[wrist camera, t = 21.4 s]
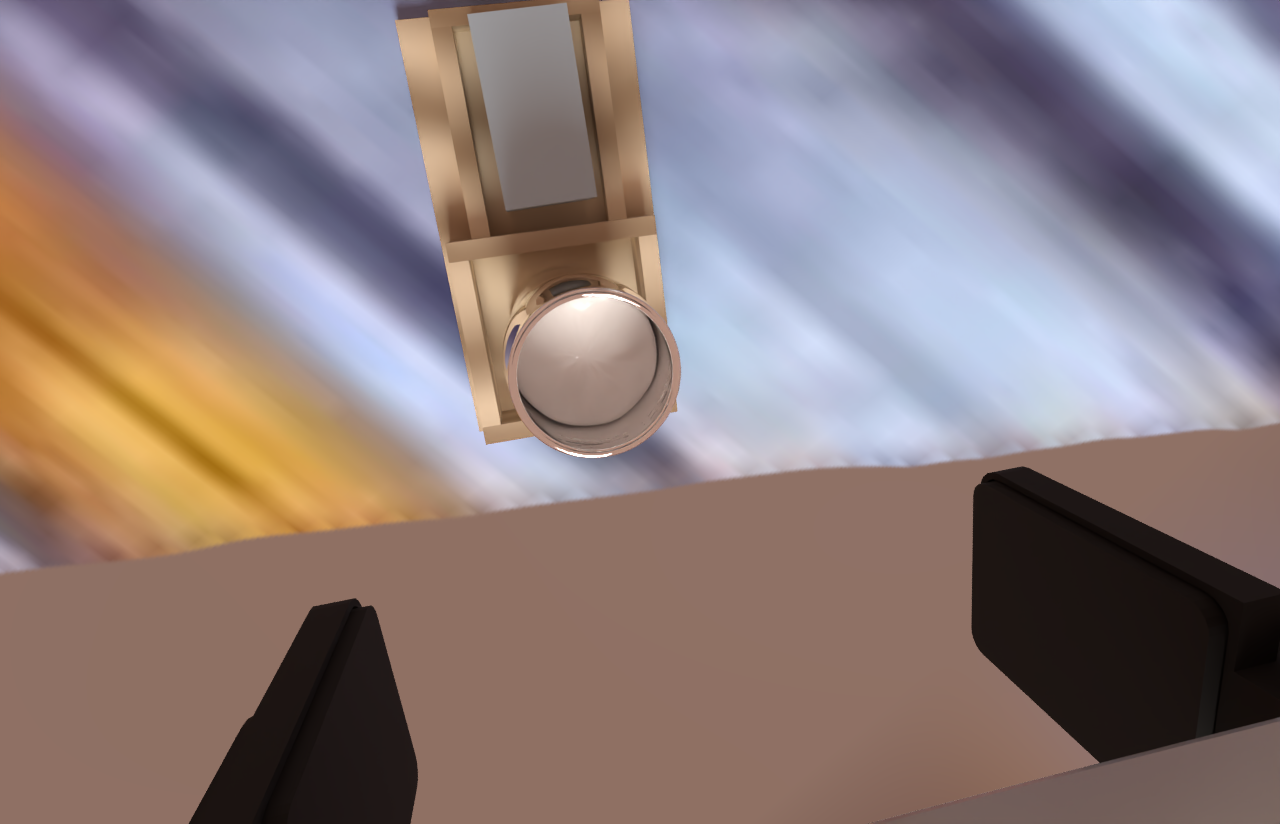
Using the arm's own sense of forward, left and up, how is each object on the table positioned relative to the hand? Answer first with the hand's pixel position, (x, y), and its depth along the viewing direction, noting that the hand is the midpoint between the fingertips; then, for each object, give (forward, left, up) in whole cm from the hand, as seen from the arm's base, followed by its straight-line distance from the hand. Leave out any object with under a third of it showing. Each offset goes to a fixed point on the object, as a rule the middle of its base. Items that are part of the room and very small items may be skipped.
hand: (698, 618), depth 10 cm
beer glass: (0, 0, -31) cm, 31 cm away
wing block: (-11, 0, -31) cm, 33 cm away
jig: (-6, 0, -32) cm, 33 cm away
